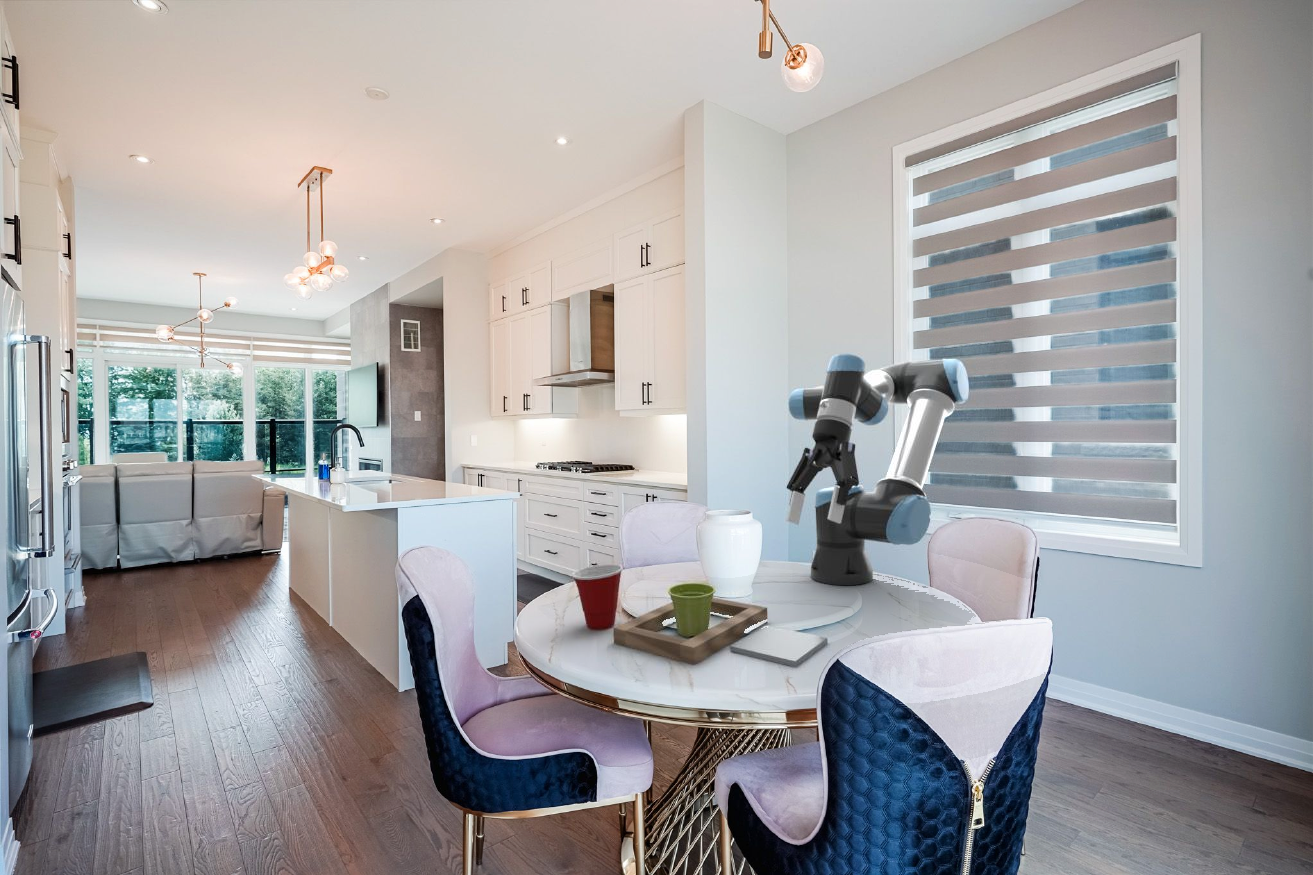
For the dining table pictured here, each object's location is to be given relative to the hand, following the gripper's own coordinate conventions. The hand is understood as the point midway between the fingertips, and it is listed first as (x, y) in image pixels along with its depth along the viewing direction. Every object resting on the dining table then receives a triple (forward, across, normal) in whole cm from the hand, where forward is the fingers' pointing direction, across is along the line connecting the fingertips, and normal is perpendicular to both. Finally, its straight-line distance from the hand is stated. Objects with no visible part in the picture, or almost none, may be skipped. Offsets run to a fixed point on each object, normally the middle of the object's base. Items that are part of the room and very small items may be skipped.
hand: (812, 522), depth 129 cm
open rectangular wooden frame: (+27, -12, -14) cm, 32 cm away
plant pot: (+27, -12, -13) cm, 33 cm away
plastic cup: (+31, -25, -28) cm, 49 cm away
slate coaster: (+25, +3, -3) cm, 26 cm away
